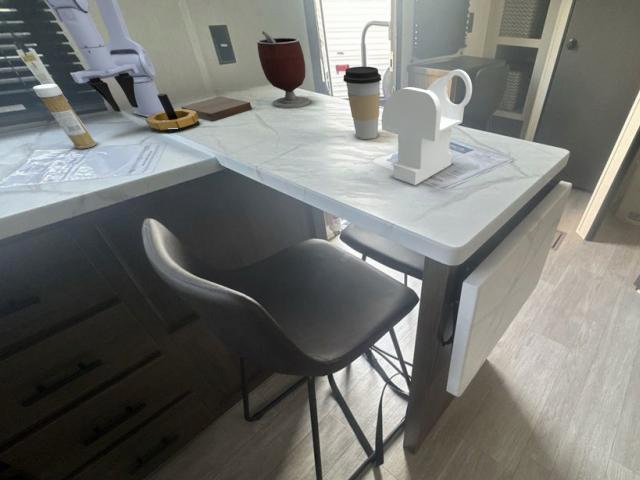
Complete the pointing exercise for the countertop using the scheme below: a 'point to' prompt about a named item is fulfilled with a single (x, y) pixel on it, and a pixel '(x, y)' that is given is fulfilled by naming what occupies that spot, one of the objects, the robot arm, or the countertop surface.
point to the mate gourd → (283, 67)
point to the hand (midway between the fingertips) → (126, 109)
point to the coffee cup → (364, 99)
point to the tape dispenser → (424, 127)
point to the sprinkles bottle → (64, 115)
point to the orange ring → (184, 120)
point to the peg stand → (171, 112)
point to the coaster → (218, 108)
